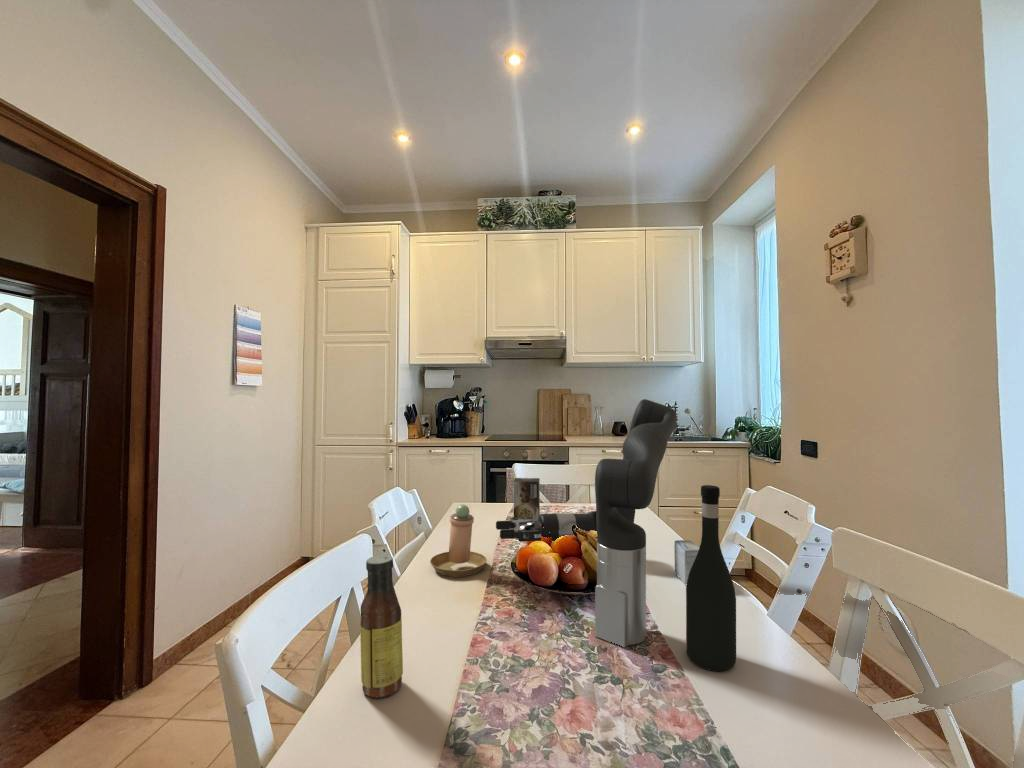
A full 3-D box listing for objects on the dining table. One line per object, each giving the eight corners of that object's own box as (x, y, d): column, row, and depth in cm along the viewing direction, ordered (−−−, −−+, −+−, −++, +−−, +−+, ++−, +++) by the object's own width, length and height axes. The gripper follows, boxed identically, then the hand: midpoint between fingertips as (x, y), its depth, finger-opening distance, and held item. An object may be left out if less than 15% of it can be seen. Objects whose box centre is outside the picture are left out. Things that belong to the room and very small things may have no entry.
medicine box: (703, 586, 112) (703, 550, 112) (684, 586, 112) (684, 549, 112) (691, 573, 120) (691, 539, 120) (674, 573, 120) (674, 539, 120)
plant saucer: (457, 556, 133) (457, 546, 133) (497, 567, 124) (497, 558, 124) (418, 571, 121) (418, 561, 121) (459, 586, 112) (459, 575, 112)
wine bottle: (676, 652, 83) (676, 483, 84) (711, 644, 86) (710, 480, 86) (709, 678, 75) (709, 492, 76) (747, 668, 78) (746, 489, 79)
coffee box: (540, 523, 166) (540, 477, 166) (539, 528, 159) (539, 481, 160) (514, 522, 166) (514, 477, 167) (512, 527, 160) (513, 480, 160)
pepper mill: (460, 566, 118) (464, 510, 118) (442, 558, 122) (446, 504, 121) (475, 558, 123) (479, 505, 123) (457, 551, 127) (461, 499, 126)
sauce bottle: (409, 679, 75) (411, 554, 75) (389, 704, 69) (391, 568, 69) (373, 672, 76) (375, 550, 77) (350, 696, 70) (352, 563, 71)
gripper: (550, 507, 134) (494, 509, 131) (564, 520, 120) (501, 522, 117) (550, 533, 134) (494, 536, 131) (564, 550, 120) (501, 552, 117)
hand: (498, 529), depth 124 cm, fingers open, 8 cm apart
